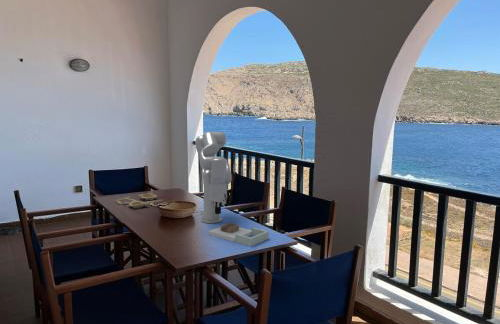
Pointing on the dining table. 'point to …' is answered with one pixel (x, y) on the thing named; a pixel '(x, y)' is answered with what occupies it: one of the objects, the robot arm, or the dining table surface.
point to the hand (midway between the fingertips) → (218, 213)
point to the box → (258, 237)
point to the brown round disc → (229, 227)
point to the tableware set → (140, 204)
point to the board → (229, 236)
